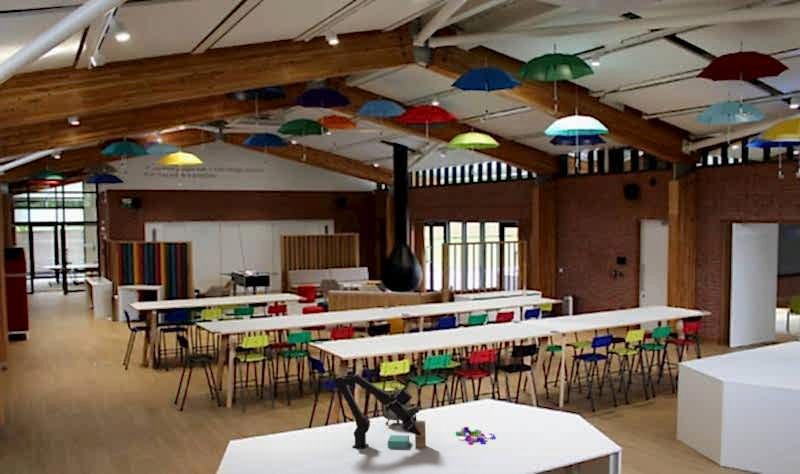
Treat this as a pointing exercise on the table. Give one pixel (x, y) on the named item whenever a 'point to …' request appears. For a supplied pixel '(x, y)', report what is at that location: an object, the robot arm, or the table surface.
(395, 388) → the tabletop clock
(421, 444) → the walnut pillar
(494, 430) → the table surface
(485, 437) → the building block set
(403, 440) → the teal base block
